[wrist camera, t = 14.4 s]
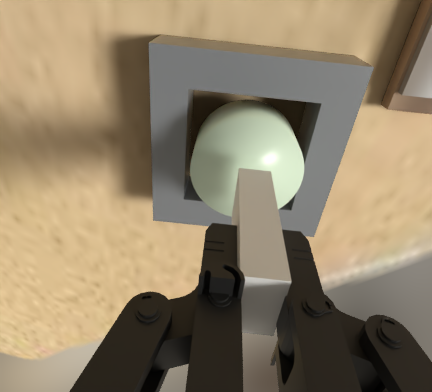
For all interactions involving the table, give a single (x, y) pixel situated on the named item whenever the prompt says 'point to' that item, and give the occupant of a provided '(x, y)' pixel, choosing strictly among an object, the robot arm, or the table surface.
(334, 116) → the button housing
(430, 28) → the board
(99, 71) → the table surface
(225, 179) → the button
